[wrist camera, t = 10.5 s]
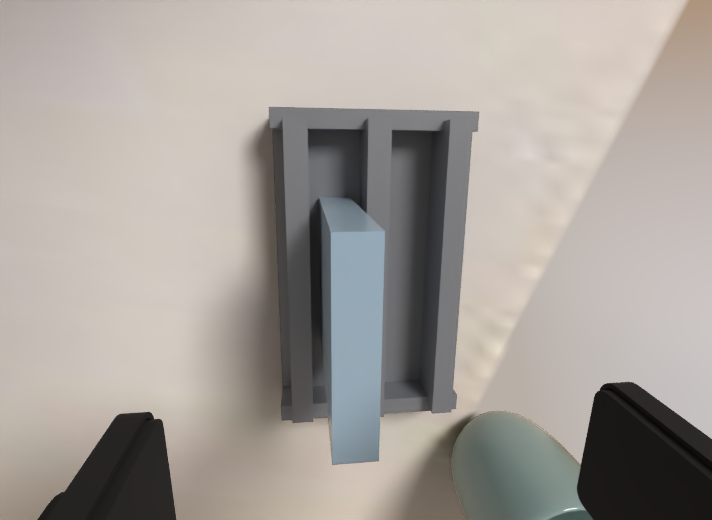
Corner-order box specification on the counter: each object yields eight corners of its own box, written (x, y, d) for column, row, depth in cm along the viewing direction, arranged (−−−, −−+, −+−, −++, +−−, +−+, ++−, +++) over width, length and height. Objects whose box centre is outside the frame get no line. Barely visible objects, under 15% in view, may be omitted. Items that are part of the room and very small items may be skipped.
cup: (555, 411, 31) (667, 526, 22) (507, 493, 33) (592, 635, 23) (466, 380, 30) (545, 490, 20) (421, 468, 31) (473, 610, 21)
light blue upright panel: (318, 197, 24) (330, 232, 13) (349, 197, 24) (384, 231, 14) (320, 339, 26) (332, 464, 16) (349, 338, 27) (378, 461, 16)
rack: (273, 112, 24) (266, 104, 20) (458, 116, 25) (487, 109, 21) (284, 393, 28) (280, 431, 24) (441, 383, 29) (461, 418, 25)
